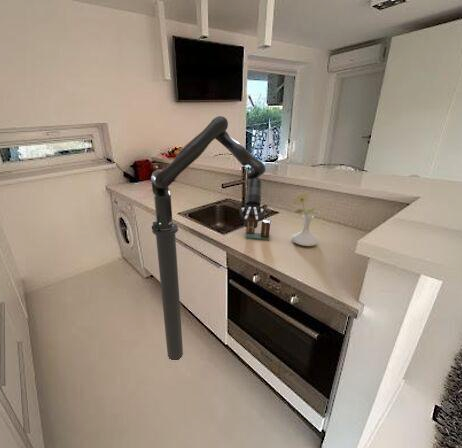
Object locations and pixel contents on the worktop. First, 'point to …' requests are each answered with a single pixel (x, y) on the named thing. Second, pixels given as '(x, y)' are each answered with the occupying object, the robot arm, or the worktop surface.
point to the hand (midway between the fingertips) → (250, 227)
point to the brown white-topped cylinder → (265, 228)
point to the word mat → (256, 236)
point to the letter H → (250, 225)
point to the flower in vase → (304, 236)
